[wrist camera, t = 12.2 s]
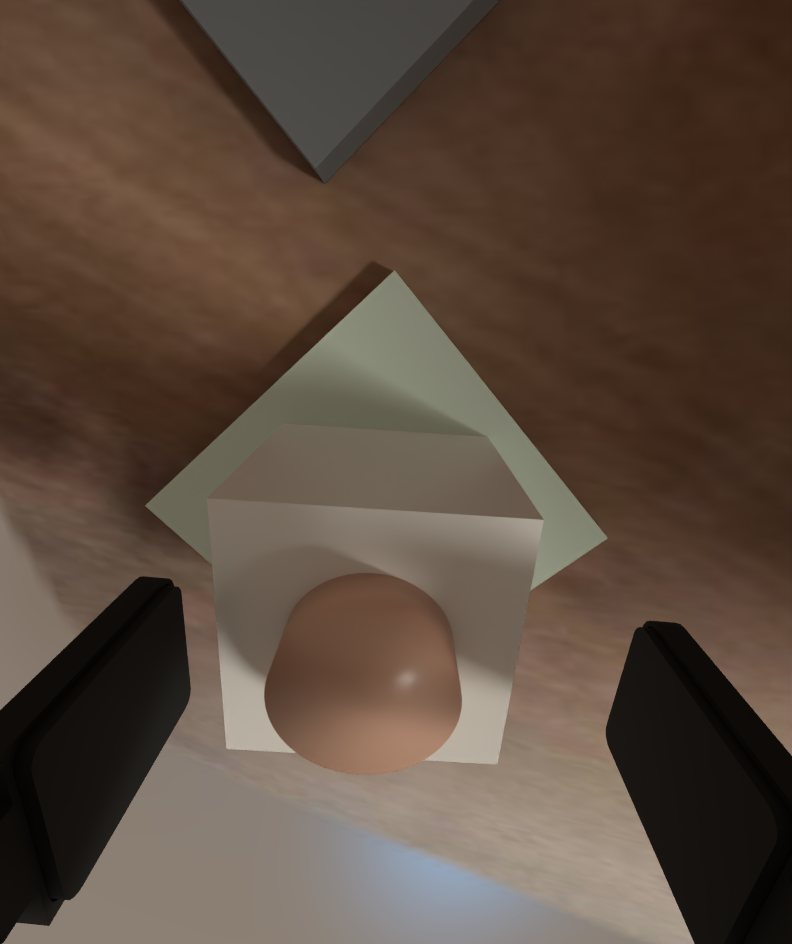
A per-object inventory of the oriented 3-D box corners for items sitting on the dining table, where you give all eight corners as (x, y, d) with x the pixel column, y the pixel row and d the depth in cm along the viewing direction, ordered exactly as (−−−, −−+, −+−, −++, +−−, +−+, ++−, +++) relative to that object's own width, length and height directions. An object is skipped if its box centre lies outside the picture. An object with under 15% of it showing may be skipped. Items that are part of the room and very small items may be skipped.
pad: (598, 527, 16) (608, 538, 16) (367, 685, 19) (366, 701, 18) (394, 272, 14) (394, 270, 13) (157, 496, 16) (144, 505, 15)
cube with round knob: (488, 436, 14) (571, 560, 7) (464, 608, 17) (511, 832, 10) (283, 423, 14) (168, 535, 7) (286, 597, 16) (200, 814, 9)
